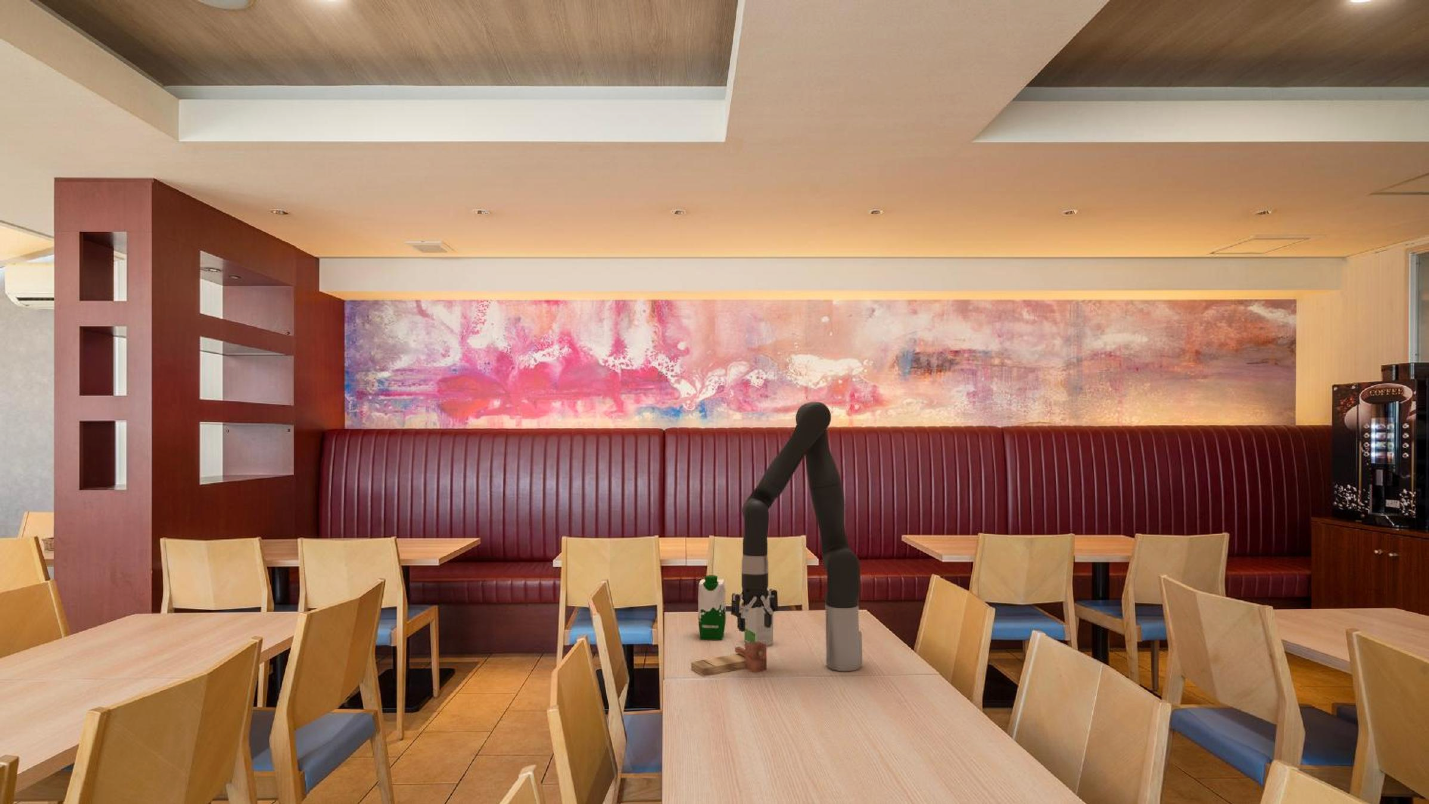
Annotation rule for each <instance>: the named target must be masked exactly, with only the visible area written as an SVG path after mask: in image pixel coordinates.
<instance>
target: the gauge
mask: <svg viewBox="0 0 1429 804" xmlns="http://www.w3.org/2000/svg"><path fill="white" fill-rule="evenodd" d="M767 650H768V649H767V646H766V644H764V643H762V642H759V641H756V642H751V643H747V642H745V644H744V648H743V647H741V646H735V647H734V652H735V654H740V655H742V656H744V657H745V668H744V669H745V670H747V671H749V672H751V673H758V672H759V673H760V672H763V671H768V668H767V667H768V666H767V665H768V664H767V662H768V659H767V658H768V655H767Z"/></svg>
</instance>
